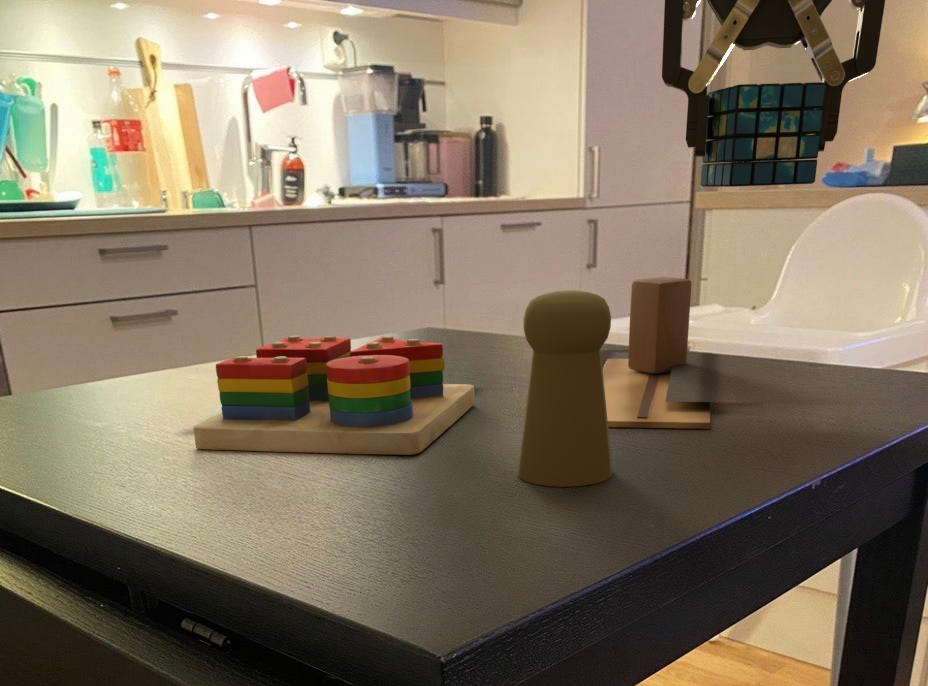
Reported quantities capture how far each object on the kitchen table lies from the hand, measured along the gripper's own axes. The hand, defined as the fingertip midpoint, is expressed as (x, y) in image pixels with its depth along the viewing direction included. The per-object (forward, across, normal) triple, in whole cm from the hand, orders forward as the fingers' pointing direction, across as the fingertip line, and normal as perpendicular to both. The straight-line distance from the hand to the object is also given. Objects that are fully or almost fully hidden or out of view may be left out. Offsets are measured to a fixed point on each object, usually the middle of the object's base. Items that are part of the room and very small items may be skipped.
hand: (757, 153), depth 67 cm
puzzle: (+2, 0, 0) cm, 2 cm away
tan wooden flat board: (+18, +7, -10) cm, 22 cm away
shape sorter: (+19, +30, +5) cm, 36 cm away
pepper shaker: (+18, +11, +17) cm, 28 cm away
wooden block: (+18, +6, -17) cm, 25 cm away
